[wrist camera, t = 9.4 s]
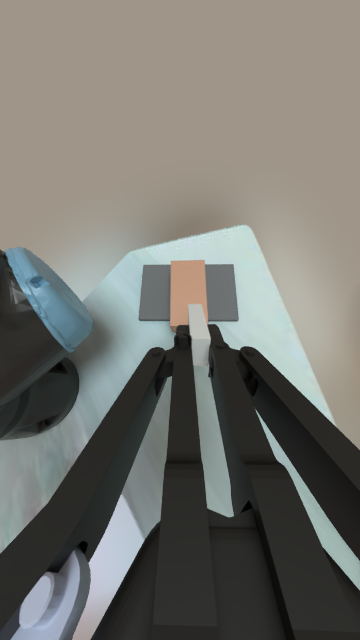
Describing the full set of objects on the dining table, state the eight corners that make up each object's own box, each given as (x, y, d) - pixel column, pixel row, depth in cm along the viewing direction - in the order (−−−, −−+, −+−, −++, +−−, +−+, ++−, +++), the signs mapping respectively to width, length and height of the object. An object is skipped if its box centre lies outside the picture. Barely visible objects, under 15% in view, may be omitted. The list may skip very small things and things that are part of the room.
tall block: (170, 326, 28) (170, 260, 32) (172, 331, 33) (172, 274, 37) (208, 325, 28) (204, 260, 32) (204, 331, 33) (201, 273, 36)
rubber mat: (140, 320, 35) (138, 319, 34) (144, 267, 39) (143, 264, 37) (236, 321, 34) (238, 319, 33) (231, 267, 38) (233, 264, 37)
